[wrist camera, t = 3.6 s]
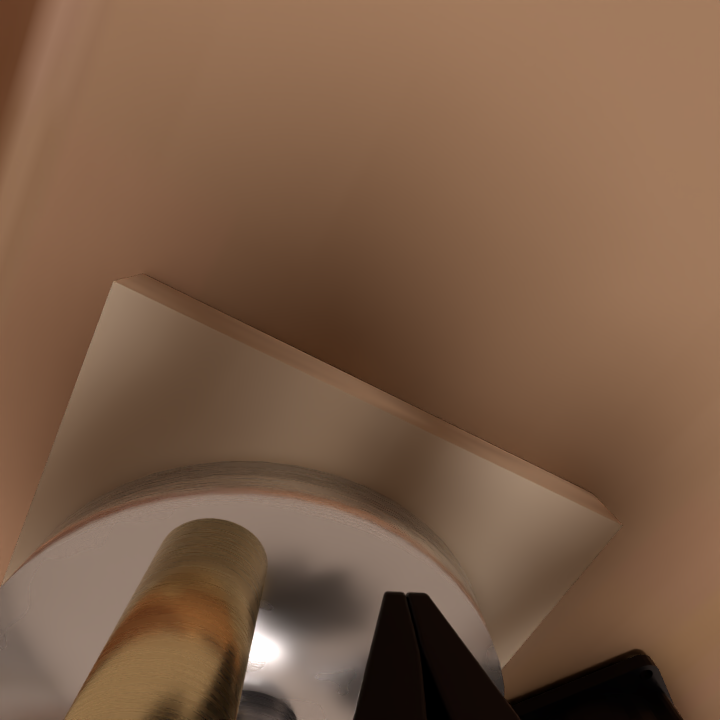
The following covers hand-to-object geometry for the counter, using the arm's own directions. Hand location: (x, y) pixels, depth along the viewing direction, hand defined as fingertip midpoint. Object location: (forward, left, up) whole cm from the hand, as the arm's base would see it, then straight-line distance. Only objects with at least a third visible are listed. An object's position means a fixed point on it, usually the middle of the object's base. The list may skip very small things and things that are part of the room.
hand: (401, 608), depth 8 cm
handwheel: (+6, +3, -3) cm, 8 cm away
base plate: (+6, +3, -5) cm, 8 cm away
